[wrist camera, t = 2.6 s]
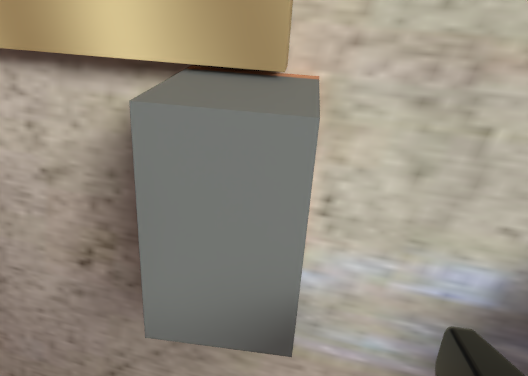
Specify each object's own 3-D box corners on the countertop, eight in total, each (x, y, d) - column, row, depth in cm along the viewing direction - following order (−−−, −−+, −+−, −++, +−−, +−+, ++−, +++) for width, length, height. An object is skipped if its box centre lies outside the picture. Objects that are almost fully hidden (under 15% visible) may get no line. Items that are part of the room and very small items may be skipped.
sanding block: (319, 75, 13) (319, 118, 9) (298, 254, 16) (291, 357, 12) (191, 65, 14) (129, 101, 9) (192, 242, 16) (145, 337, 12)
